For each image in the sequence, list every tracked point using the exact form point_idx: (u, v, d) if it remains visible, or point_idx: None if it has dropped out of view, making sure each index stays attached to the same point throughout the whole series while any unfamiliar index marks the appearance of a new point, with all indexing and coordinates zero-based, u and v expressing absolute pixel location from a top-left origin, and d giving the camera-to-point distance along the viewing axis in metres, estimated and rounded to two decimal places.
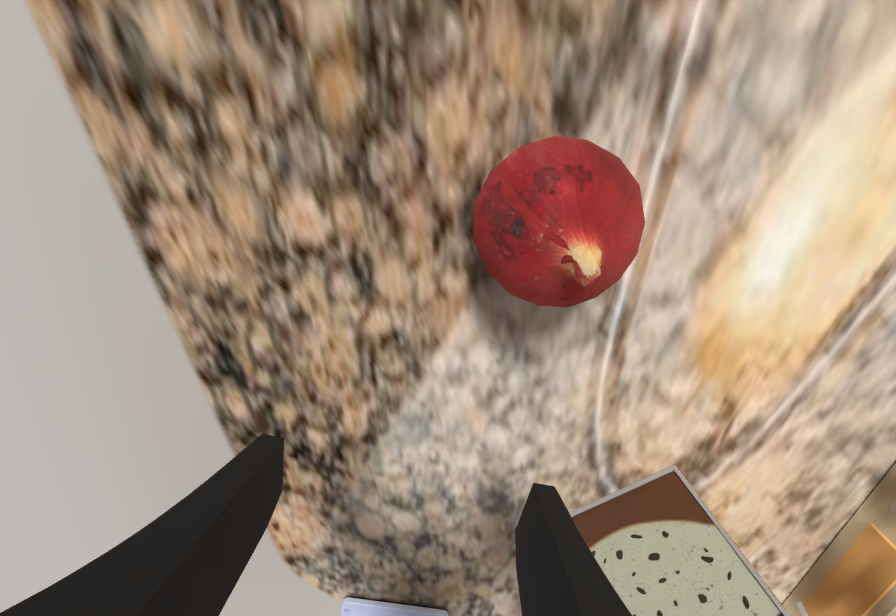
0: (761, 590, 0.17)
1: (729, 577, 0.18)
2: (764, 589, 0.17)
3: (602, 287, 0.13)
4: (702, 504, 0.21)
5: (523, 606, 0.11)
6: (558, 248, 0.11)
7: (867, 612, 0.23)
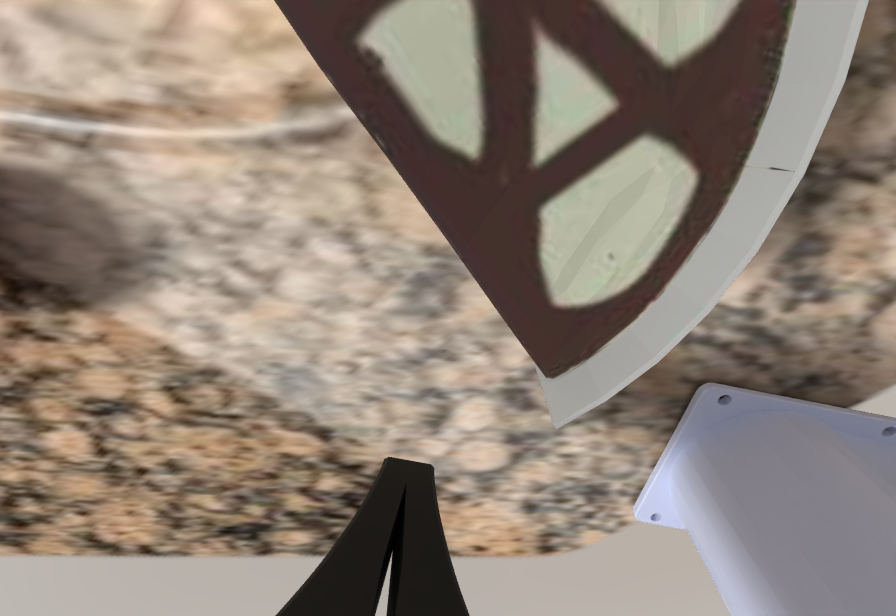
0: None
1: None
2: None
3: None
4: None
5: None
6: None
7: None
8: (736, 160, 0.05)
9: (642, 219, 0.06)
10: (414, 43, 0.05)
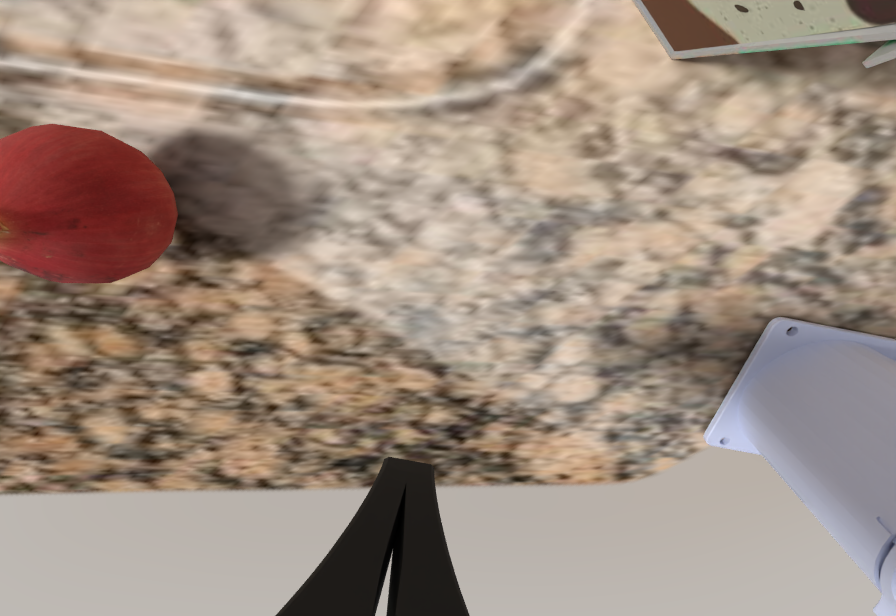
0: None
1: None
2: None
3: (53, 186, 0.13)
4: None
5: (390, 584, 0.11)
6: None
7: None
8: None
9: None
10: None
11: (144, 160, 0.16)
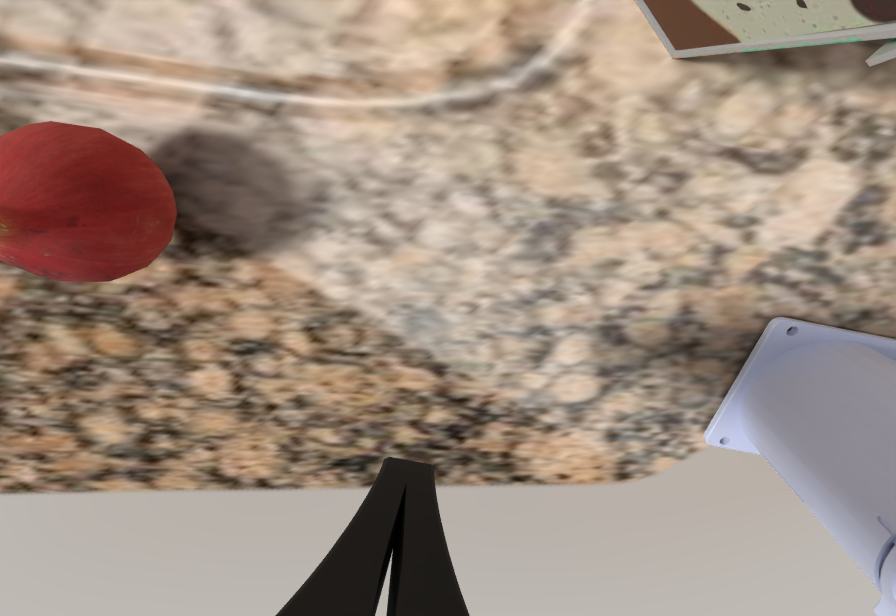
0: None
1: None
2: None
3: (52, 183, 0.13)
4: None
5: None
6: None
7: None
8: None
9: None
10: None
11: (143, 158, 0.16)
